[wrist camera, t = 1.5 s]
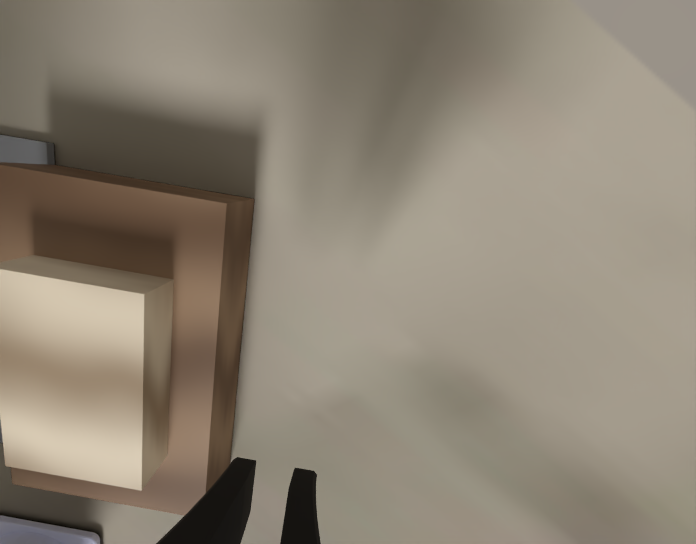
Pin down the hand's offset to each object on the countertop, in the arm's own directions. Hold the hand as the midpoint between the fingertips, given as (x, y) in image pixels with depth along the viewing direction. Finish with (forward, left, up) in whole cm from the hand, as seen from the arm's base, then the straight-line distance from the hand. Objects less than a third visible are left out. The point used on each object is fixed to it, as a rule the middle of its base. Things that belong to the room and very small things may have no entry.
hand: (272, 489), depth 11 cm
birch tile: (0, +9, -5) cm, 10 cm away
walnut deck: (0, +9, -8) cm, 12 cm away
